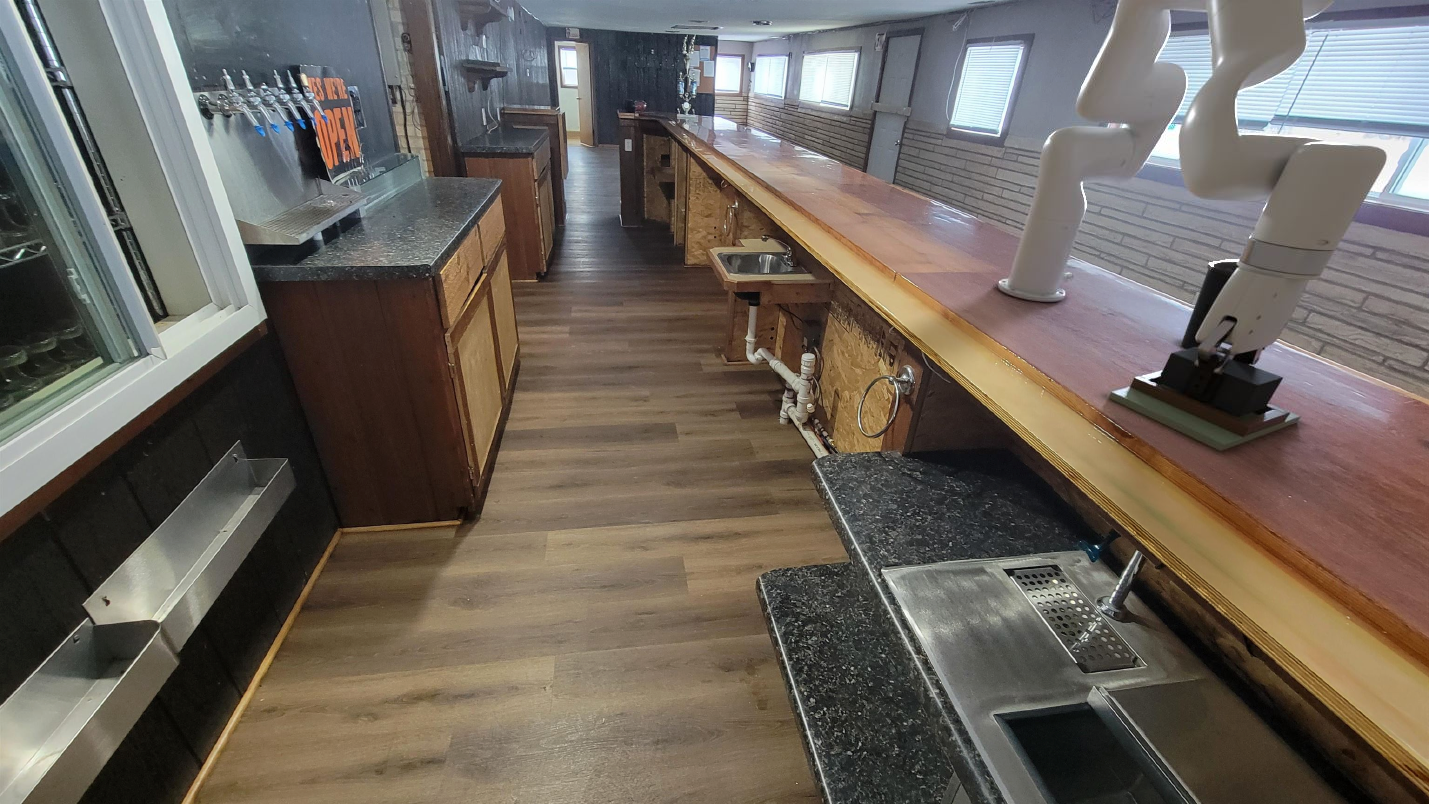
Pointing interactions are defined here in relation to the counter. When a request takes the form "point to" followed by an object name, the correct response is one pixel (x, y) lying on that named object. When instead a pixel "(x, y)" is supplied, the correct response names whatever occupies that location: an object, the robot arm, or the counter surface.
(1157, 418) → the rectangular tray
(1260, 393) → the black rectangular block
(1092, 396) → the counter surface
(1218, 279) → the drinking cup
